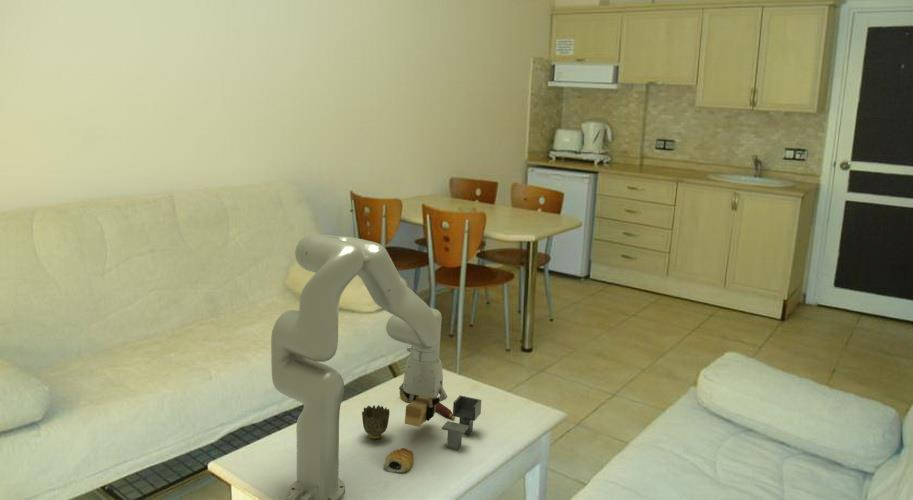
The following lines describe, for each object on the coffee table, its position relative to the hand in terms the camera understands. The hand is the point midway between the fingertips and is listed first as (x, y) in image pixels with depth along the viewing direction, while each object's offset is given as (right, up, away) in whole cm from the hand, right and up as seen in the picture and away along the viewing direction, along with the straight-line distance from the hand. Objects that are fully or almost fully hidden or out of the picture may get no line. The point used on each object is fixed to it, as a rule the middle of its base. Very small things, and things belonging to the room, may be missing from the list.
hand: (421, 416), depth 196 cm
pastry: (-5, -9, -16) cm, 19 cm away
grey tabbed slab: (+9, -7, -6) cm, 13 cm away
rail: (0, 0, -1) cm, 1 cm away
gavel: (+2, -2, +17) cm, 17 cm away
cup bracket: (+12, -5, +2) cm, 13 cm away
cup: (-12, -5, -3) cm, 14 cm away
